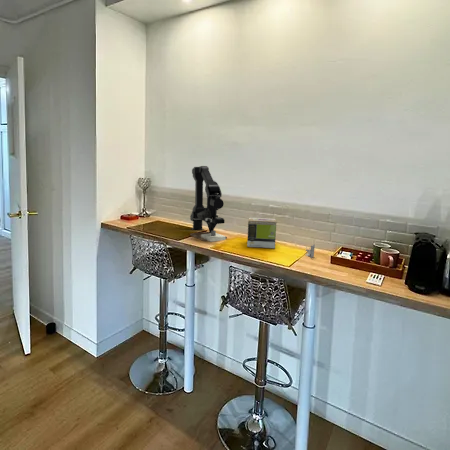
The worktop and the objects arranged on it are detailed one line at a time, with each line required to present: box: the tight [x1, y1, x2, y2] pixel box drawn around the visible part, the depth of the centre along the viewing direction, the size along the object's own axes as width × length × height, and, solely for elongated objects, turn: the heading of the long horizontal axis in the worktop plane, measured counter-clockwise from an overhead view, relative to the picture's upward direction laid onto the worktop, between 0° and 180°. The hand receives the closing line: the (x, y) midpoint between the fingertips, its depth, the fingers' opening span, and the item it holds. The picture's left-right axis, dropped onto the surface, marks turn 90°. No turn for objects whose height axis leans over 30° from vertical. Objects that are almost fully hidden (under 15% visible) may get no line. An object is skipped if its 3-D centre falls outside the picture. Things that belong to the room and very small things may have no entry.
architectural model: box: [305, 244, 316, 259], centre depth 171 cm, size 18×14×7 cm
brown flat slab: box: [189, 231, 228, 242], centre depth 202 cm, size 16×15×2 cm
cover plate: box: [201, 229, 227, 242], centre depth 198 cm, size 10×10×5 cm
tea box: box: [246, 217, 277, 249], centre depth 189 cm, size 15×10×15 cm, turn 84°
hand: (210, 233), depth 199 cm, fingers closed
